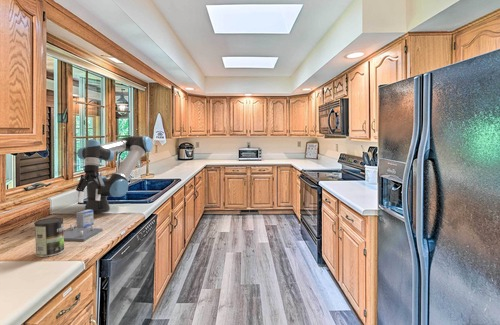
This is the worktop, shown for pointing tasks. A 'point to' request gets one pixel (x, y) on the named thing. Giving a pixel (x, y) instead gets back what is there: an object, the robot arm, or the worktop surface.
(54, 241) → the coffee can
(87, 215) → the medicine box
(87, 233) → the pin tray
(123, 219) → the worktop surface
